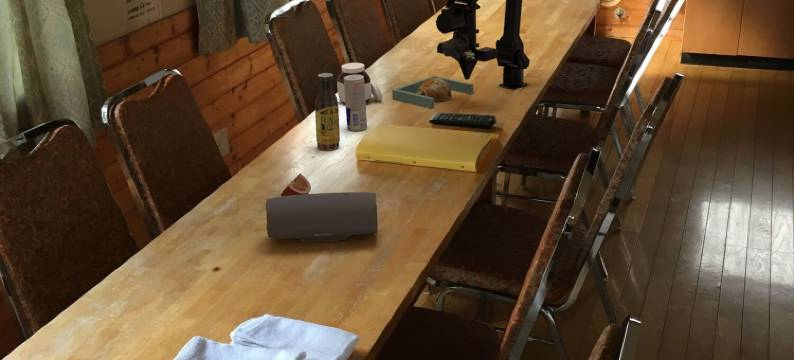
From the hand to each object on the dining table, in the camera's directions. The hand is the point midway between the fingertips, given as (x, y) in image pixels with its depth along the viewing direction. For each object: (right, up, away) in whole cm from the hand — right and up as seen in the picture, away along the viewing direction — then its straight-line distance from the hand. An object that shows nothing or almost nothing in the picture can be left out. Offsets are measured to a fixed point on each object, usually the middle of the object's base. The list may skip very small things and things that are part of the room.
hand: (467, 79), depth 276 cm
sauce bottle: (-39, -21, -25) cm, 51 cm away
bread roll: (-9, -5, +11) cm, 15 cm away
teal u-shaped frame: (-9, -4, +12) cm, 16 cm away
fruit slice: (-44, -34, -57) cm, 79 cm away
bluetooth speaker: (-36, -42, -77) cm, 95 cm away
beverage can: (-32, -15, -12) cm, 37 cm away
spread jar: (-31, -6, +11) cm, 34 cm away
